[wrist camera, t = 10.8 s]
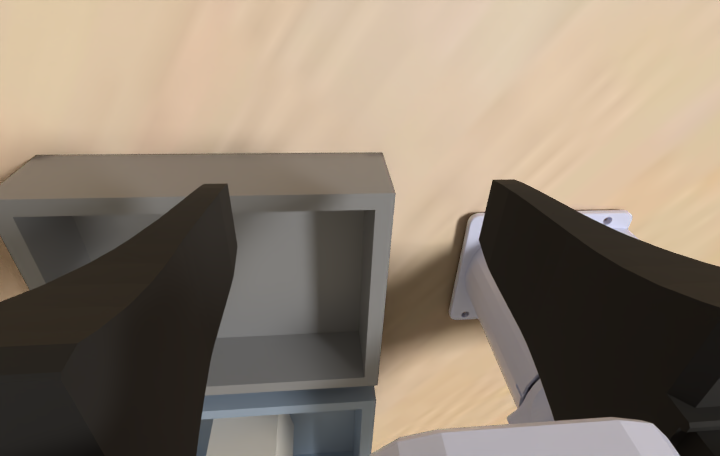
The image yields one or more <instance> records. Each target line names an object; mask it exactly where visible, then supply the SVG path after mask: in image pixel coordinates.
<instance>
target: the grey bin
mask: <svg viewBox="0 0 720 456" xmlns="http://www.w3.org/2000/svg"><path fill="white" fill-rule="evenodd" d="M226 183H228V189H229V195H230V202H231V208H232V214H233V221H234V227H235V233H236V240H237V246H238V247H237V255H236V263H235V270H234V277H233V281H232V285H231V288H230V292H229V295H228V299H227V303H226V306H225V310H224V313H223V317H222V320H221V324H220V327H219V331H218V334H217V338H216V341H215V345H214V349H213V353H212V357H211V361H210V367H209V373H208V379H207V385H206V391H205V396H207V395H224V394H241V393H258V392H274V391H291V390H308V389H324V388H341V387H358V386H375V385H378V374H379V363H380V353H381V342H382V331H383V321H384V310H385V299H386V289H387V278H388V267H389V257H390V246H391V235H392V225H393V214H394V203H395V190H394V187H393V184H392V181H391V178H390V175H389V172H388V168H387V165H386V162H385V159H384V156H383V153H268V154H127V155H36V156H35V157H33V158H32V159H31V160H30V161H28V162H27V163H26V164H25V165H23V166H22V167H21V168H20V169H18V170H17V171H16V172H15V173H14V174H12V175H11V176H10V177H9V178H7V179H6V180H5V181H4V182H2V183H1V184H0V236H1V238H2V240H3V242H4V244H5V245H6V247H7V249H8V251H9V253H10V255H11V256H12V258H13V260H14V262H15V264H16V266H17V268H18V269H19V271H20V273H21V275H22V277H23V279H24V281H25V282H26V284H27V286H28V288H29V290H32V289H34V288H37V287H39V286H42V285H44V284H46V283H48V282H50V281H53V280H55V279H57V278H59V277H61V276H63V275H65V274H67V273H69V272H71V271H74V270H76V269H78V268H80V267H82V266H84V265H86V264H88V263H90V262H92V261H94V260H95V259H97V258H99V257H101V256H102V255H104V254H106V253H108V252H109V251H111V250H113V249H115V248H116V247H118V246H120V245H121V244H123V243H124V242H126V241H127V240H129V239H130V238H132V237H133V236H135V235H136V234H138V233H139V232H140V231H142V230H143V229H145V228H146V227H148V226H149V225H150V224H152V223H153V222H155V221H156V220H158V219H159V218H160V217H161V216H163V215H164V214H165V213H167V212H168V211H169V210H170V209H172V208H173V207H174V206H176V205H177V204H178V203H179V202H181V201H182V200H183V199H184V198H186V197H187V196H188V195H189V194H191V193H192V192H193V191H194V190H196V189H197V188H198V187H200V186H201V185H203V184H226Z"/></svg>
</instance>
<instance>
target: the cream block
mask: <svg viewBox="0 0 720 456" xmlns="http://www.w3.org/2000/svg"><path fill="white" fill-rule="evenodd" d="M293 439H294V424H293V422H292V419H291V417H290V414H279V415H263V416H248V417H233V418H217V419H213V424H212V429H211V434H210V439H209V444H208V449H207V454H206V456H293Z"/></svg>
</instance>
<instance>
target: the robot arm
mask: <svg viewBox="0 0 720 456" xmlns="http://www.w3.org/2000/svg"><path fill="white" fill-rule="evenodd" d="M607 217H608V218H607ZM605 218H607V219H606V220H604V219H605ZM603 220H604V221H603ZM631 221H632V214H630V213H629V212H628V211H627V210H595V211H576V210H574V209H572V208H570V207H568V206H566V205H564V204H562V203H561V202H559V201H557V200H555V199H553V198H551V197H549V196H548V195H546V194H544V193H542V192H540V191H538V190H536V189H534V188H532V187H530V186H528V185H526V184H524V183H522V182H519V181H517V180H493V181H492V186H491V190H490V194H489V198H488V202H487V207H486V211H485V213H476V214H473V215H472V216H471V217H470V218H469V220H468V223H467V228H466V232H465V237H464V242H463V246H462V251H461V256H460V260H459V265H458V270H457V275H456V279H455V284H454V289H453V293H452V298H451V303H450V307H449V315H450V317H451V319H453V320H464V319H479V321H480V323H481V325H482V328H483V330H484V332H485V335H486V337H487V339H488V342H489V344H490V346H491V349H492V351H493V353H494V356H495V358H496V360H497V362H498V365H499V367H500V369H501V372H502V374H503V376H504V379H505V381H506V383H507V386H508V388H509V390H510V393H511V395H512V397H513V399H514V402H515V404H516V406H517V410H516V411H515V412H513V413H512V414H510V415H509V416H508V417H507V420H508V422H509V424H505V425H491V426H477V427H463V428H449V429H437V430H432V431H427V432H423V433H418V434H413V435H409V436H404V437H400V438H398V439H396V440H394V441H392V442H391V443H389V444H387V445H386V446H384V447H382V448H380V449H379V450H377V451H375V452H373V453H372V454H370V455H369V456H720V267H719V266H715V265H711V264H708V263H704V262H701V261H698V260H695V259H692V258H689V257H686V256H682V255H679V254H676V253H673V252H670V251H667V250H665V249H662V248H659V247H656V246H654V245H651V244H648V243H646V242H643V241H641V240H639V239H638V238H637V237H636V236H635V235H634V234H633V233H631V232H630V231H629V230H628V227H629V225H630V223H631ZM237 247H238V246H237V240H236V233H235V227H234V221H233V214H232V208H231V202H230V195H229V189H228V183H226V184H203V185H201V186H200V187H198V188H197V189H196V190H194V191H193V192H192V193H191V194H189V195H188V196H187V197H186V198H184V199H183V200H182V201H181V202H179V203H178V204H177V205H176V206H174V207H173V208H172V209H170V210H169V211H168V212H167V213H165V214H164V215H163V216H161V217H160V218H159V219H158V220H156V221H155V222H153V223H152V224H150V225H149V226H148V227H146V228H145V229H143V230H142V231H140V232H139V233H138V234H136V235H135V236H133V237H132V238H130V239H129V240H127V241H126V242H124V243H123V244H121V245H120V246H118V247H116V248H115V249H113V250H111V251H109V252H108V253H106V254H104V255H102V256H101V257H99V258H97V259H95V260H94V261H92V262H90V263H88V264H86V265H84V266H82V267H80V268H78V269H76V270H74V271H71V272H69V273H67V274H65V275H63V276H61V277H59V278H57V279H55V280H53V281H50V282H48V283H46V284H44V285H42V286H39V287H37V288H34V289H32V290H30V291H27V292H25V293H22V294H20V295H17V296H15V297H12V298H10V299H7V300H4V301H2V302H0V456H196V454H197V446H198V439H199V431H200V425H201V418H202V411H203V404H204V397H205V391H206V385H207V379H208V373H209V367H210V361H211V357H212V353H213V349H214V345H215V341H216V338H217V334H218V331H219V327H220V324H221V320H222V317H223V313H224V310H225V306H226V303H227V299H228V295H229V292H230V288H231V285H232V281H233V277H234V270H235V263H236V255H237ZM463 312H465V313H463Z"/></svg>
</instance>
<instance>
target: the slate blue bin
mask: <svg viewBox="0 0 720 456" xmlns="http://www.w3.org/2000/svg"><path fill="white" fill-rule="evenodd" d="M375 406H376V397H375V390H374V386H358V387H341V388H324V389H308V390H291V391H274V392H258V393H241V394H224V395H207V396H205V397H204V404H203V411H202V418H201V425H200V431H199V439H198V446H197V454H196V456H206V454H207V449H208V444H209V439H210V434H211V429H212V424H213V419H217V418H233V417H248V416H263V415H279V414H290V417H291V419H292V422H293V424H294V439H293V456H369V455H370V454H371V449H372V438H373V427H374V417H375Z"/></svg>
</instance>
